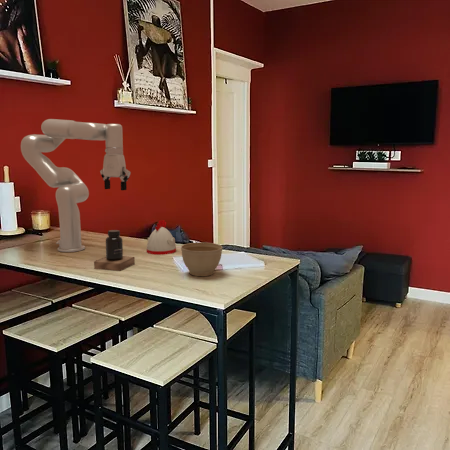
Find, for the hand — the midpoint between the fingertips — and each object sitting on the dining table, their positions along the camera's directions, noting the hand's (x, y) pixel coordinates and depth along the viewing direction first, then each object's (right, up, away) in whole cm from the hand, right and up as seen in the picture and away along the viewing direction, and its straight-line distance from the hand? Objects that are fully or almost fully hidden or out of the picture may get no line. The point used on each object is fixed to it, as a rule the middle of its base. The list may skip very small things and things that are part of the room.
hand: (115, 189), depth 212 cm
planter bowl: (+41, -36, -30) cm, 62 cm away
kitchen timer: (+20, -29, +9) cm, 36 cm away
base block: (+4, -33, -18) cm, 38 cm away
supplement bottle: (+4, -31, -19) cm, 36 cm away
